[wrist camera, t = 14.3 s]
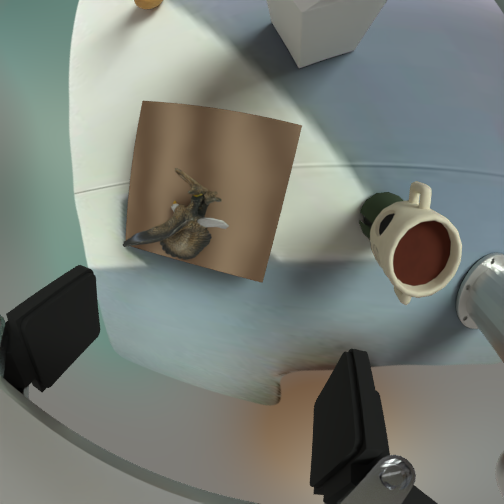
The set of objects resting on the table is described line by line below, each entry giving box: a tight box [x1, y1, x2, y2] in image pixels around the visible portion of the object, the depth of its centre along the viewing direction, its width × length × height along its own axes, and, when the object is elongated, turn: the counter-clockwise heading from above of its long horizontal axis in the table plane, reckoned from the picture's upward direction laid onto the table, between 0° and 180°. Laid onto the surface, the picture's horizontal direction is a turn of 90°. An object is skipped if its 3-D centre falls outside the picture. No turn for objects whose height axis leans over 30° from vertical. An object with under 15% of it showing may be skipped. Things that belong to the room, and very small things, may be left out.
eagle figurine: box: [123, 168, 229, 260], centre depth 26 cm, size 8×7×9 cm
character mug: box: [359, 181, 462, 305], centre depth 25 cm, size 11×7×13 cm, turn 0°
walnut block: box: [126, 101, 302, 282], centre depth 30 cm, size 16×16×6 cm
